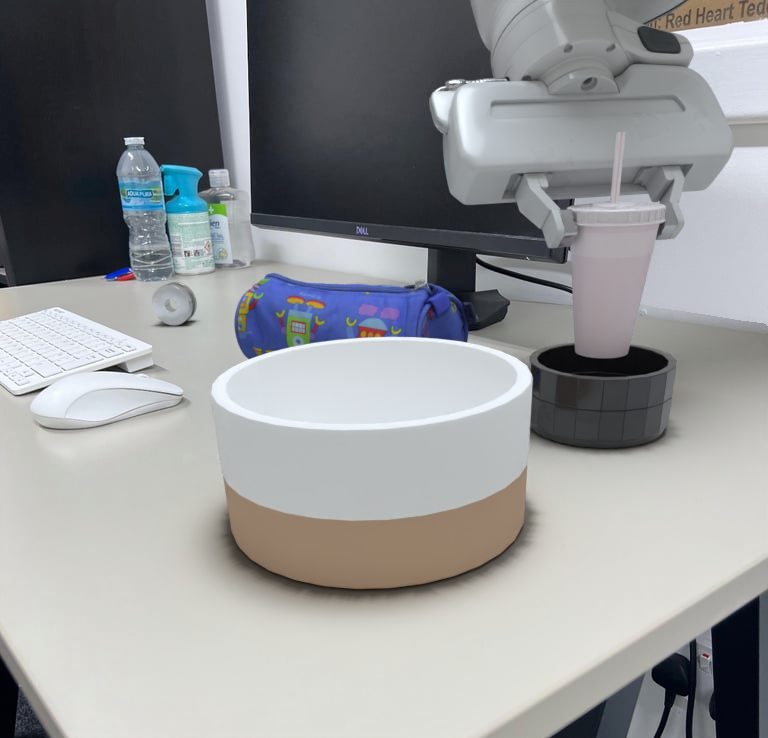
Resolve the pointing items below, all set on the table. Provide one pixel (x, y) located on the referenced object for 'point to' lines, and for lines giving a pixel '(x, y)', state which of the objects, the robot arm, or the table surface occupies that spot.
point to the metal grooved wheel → (183, 301)
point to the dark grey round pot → (601, 396)
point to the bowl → (374, 458)
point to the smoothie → (611, 267)
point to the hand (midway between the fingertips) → (618, 237)
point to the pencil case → (344, 313)
